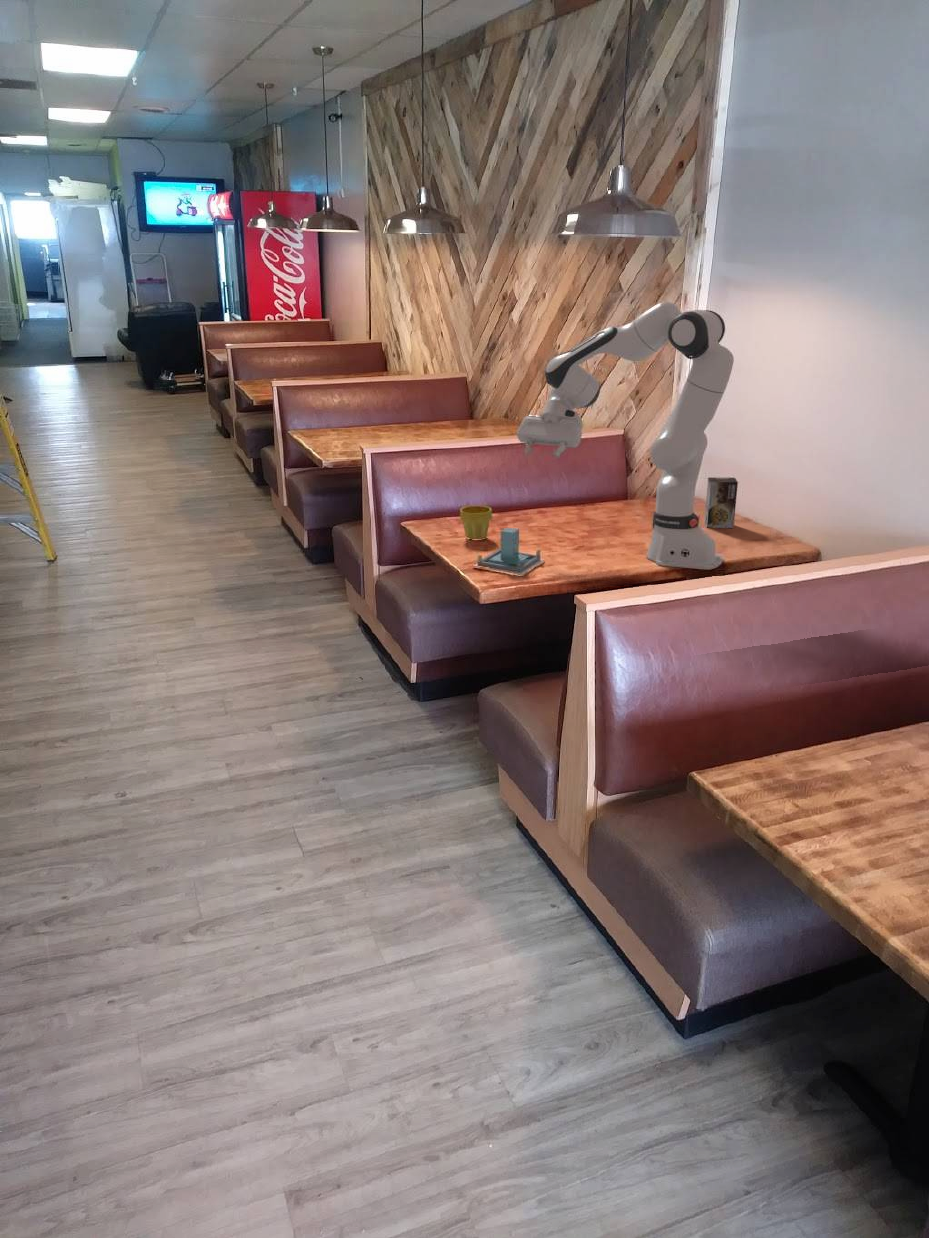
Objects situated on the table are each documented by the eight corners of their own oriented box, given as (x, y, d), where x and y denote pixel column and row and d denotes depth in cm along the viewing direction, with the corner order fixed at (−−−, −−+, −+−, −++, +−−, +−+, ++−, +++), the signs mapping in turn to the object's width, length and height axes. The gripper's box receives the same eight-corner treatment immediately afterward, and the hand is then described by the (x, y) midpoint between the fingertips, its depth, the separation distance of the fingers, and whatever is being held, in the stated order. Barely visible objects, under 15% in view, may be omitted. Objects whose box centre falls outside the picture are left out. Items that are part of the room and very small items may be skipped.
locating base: (544, 561, 274) (545, 549, 272) (521, 577, 260) (522, 563, 259) (497, 554, 281) (497, 541, 279) (472, 568, 268) (472, 555, 266)
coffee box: (730, 523, 312) (735, 477, 306) (733, 528, 306) (738, 481, 300) (703, 522, 313) (707, 476, 307) (706, 528, 307) (710, 481, 301)
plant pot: (453, 537, 297) (453, 508, 294) (477, 532, 304) (477, 503, 300) (474, 544, 290) (474, 515, 286) (498, 538, 296) (498, 509, 293)
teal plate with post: (529, 560, 272) (530, 528, 268) (516, 569, 265) (517, 536, 261) (502, 556, 276) (503, 524, 272) (489, 564, 269) (489, 532, 265)
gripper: (522, 408, 283) (507, 445, 279) (583, 413, 274) (569, 451, 270) (527, 421, 289) (513, 457, 284) (588, 426, 279) (574, 463, 275)
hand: (541, 454), depth 277 cm, fingers open, 8 cm apart
